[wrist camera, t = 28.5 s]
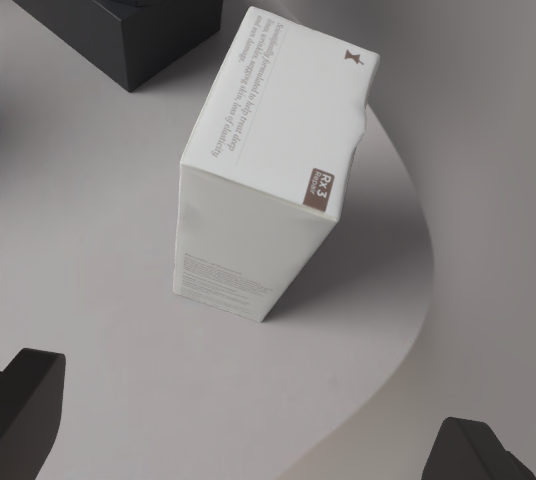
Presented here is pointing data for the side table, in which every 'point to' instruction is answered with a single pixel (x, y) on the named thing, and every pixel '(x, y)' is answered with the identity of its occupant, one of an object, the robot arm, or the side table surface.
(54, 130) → the side table surface
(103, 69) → the dark gray box
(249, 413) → the side table surface
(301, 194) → the cosmetic box
